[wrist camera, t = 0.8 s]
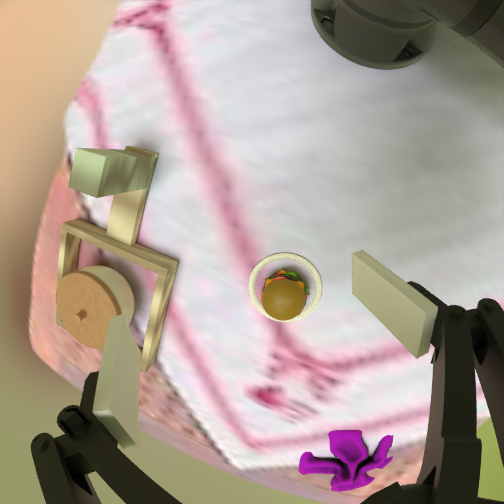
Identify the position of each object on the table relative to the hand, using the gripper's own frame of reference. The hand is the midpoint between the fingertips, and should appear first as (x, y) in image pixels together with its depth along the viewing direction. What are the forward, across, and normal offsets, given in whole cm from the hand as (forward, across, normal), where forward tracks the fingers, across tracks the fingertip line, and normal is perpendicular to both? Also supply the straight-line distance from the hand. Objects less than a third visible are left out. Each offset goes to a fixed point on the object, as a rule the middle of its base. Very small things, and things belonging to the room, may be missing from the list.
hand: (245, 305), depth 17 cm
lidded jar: (+27, -15, -10) cm, 32 cm away
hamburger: (+18, +7, -11) cm, 23 cm away
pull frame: (+26, -13, -5) cm, 30 cm away
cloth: (+8, +14, -45) cm, 47 cm away
